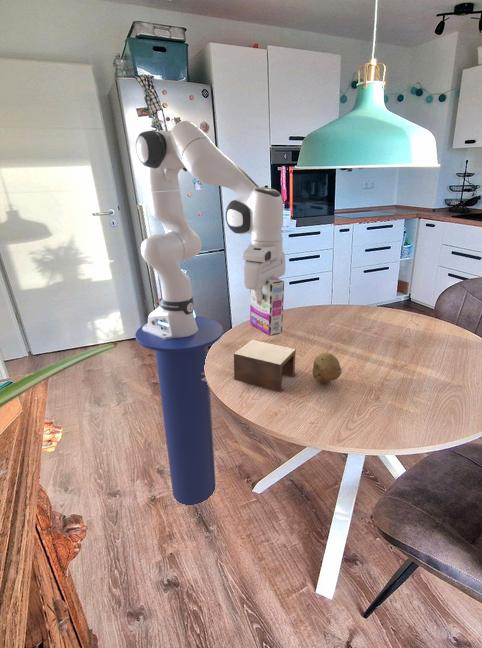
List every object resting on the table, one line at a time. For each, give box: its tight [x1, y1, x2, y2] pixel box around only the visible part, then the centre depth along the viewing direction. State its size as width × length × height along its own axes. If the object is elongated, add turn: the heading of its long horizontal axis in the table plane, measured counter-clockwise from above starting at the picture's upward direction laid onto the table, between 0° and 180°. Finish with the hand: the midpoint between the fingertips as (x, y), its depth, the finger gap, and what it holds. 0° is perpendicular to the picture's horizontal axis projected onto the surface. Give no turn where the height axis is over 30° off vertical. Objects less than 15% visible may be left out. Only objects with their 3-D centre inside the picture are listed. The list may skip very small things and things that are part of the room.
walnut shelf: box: [233, 339, 297, 393], centre depth 125 cm, size 16×12×9 cm
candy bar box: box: [249, 277, 285, 337], centre depth 116 cm, size 11×5×16 cm, turn 37°
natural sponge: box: [311, 352, 343, 383], centre depth 123 cm, size 9×9×10 cm
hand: (266, 296), depth 115 cm, fingers closed on candy bar box, 6 cm apart
